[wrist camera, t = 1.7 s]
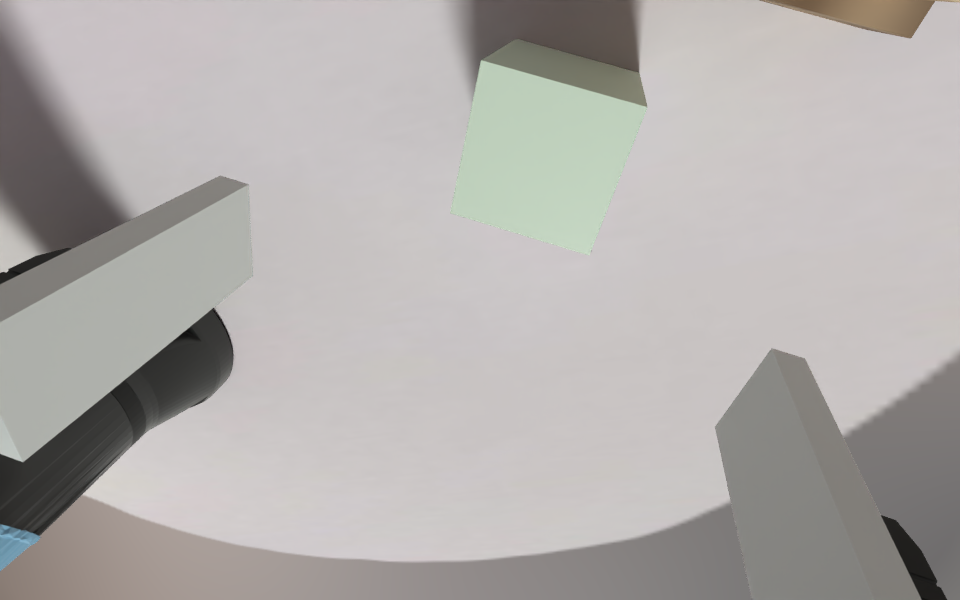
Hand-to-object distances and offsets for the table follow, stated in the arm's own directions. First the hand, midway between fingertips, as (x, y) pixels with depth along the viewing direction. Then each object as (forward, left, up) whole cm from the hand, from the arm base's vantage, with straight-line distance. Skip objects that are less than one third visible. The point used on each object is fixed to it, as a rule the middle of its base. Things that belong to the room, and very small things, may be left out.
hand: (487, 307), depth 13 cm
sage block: (0, 0, -21) cm, 21 cm away
